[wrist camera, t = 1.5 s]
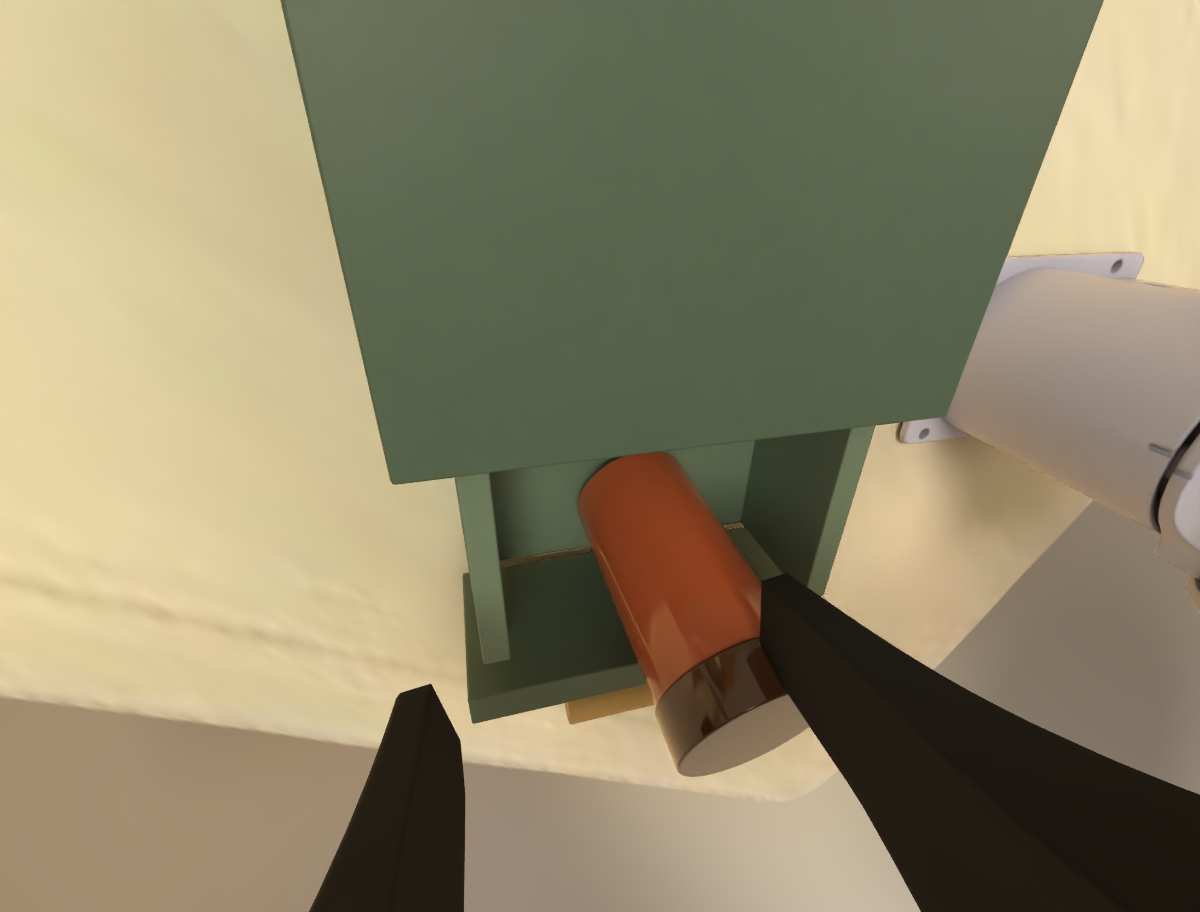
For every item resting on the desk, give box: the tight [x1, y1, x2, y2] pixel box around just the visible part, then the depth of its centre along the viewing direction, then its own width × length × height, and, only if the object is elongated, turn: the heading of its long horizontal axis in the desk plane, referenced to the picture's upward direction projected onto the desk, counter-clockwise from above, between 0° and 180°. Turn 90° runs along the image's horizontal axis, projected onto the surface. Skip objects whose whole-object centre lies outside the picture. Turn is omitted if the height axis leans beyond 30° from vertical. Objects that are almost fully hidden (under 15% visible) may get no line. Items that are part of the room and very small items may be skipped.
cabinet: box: [281, 0, 1104, 485], centre depth 12 cm, size 12×14×7 cm
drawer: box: [455, 426, 875, 724], centre depth 18 cm, size 15×13×6 cm
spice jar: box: [577, 452, 809, 777], centre depth 16 cm, size 4×4×8 cm
